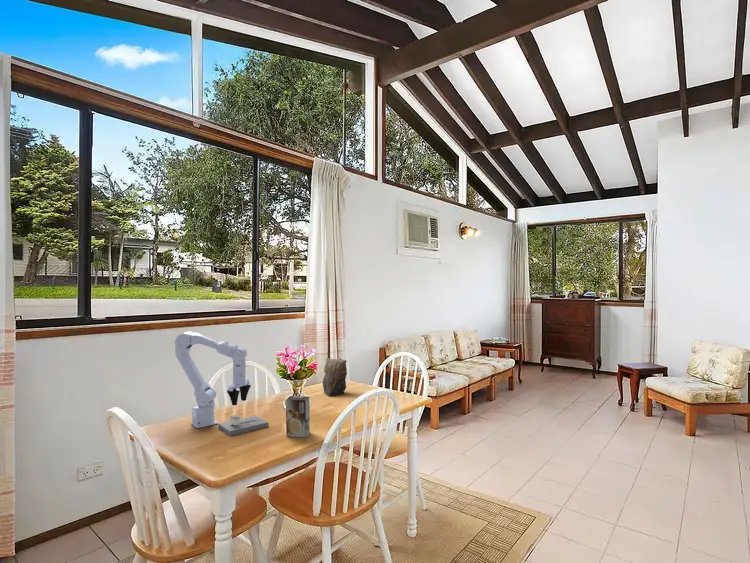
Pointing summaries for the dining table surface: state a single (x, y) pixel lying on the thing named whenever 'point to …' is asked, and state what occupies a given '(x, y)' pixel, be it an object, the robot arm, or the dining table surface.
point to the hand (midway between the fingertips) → (239, 402)
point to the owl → (334, 377)
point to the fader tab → (235, 420)
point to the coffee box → (297, 416)
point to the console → (243, 425)
